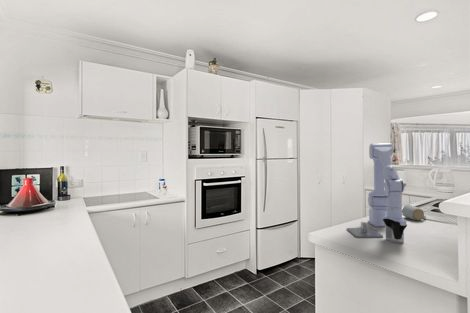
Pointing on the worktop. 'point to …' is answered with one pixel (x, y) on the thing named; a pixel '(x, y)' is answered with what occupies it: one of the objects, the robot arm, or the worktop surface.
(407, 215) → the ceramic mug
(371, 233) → the duct flange
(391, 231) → the sleeve
